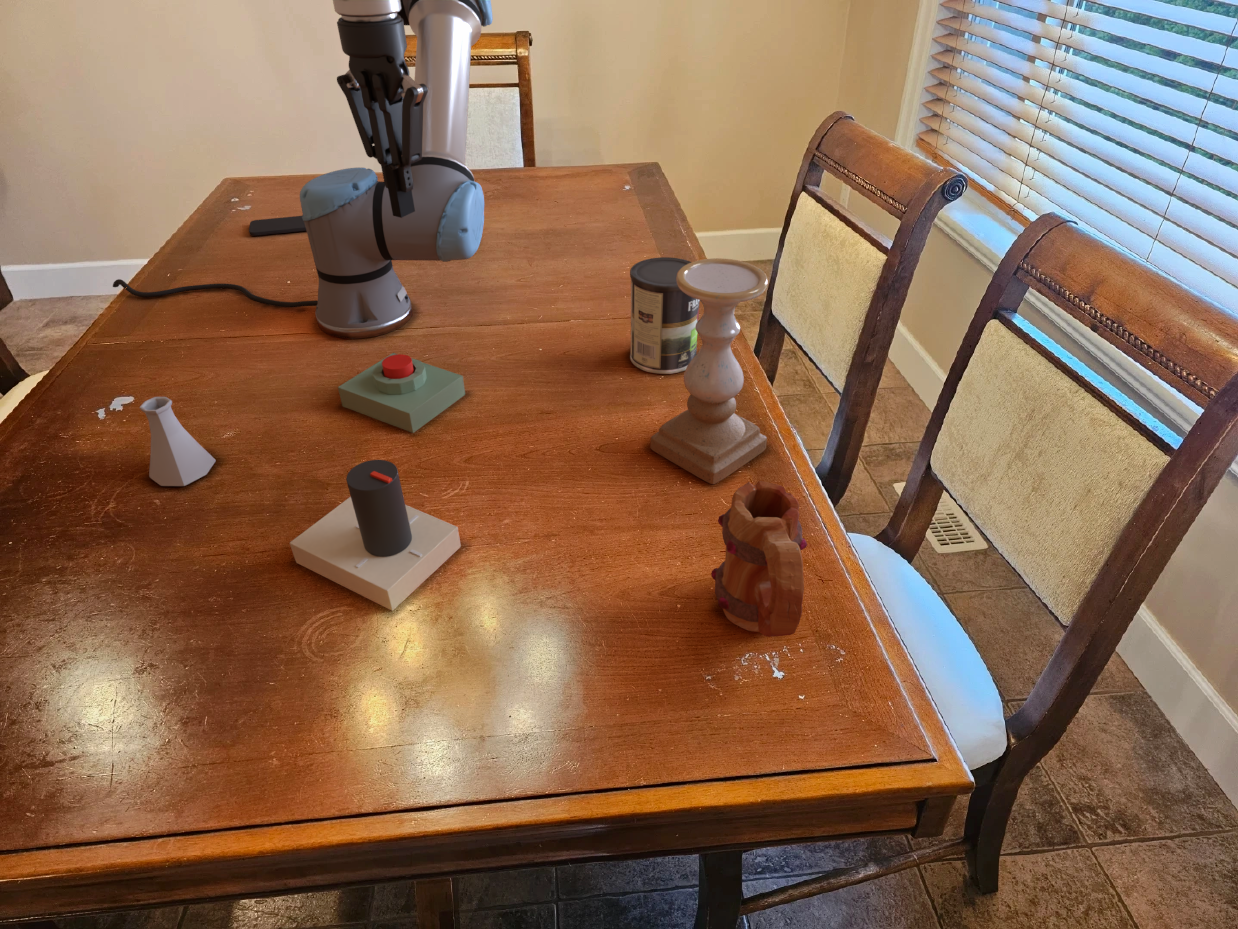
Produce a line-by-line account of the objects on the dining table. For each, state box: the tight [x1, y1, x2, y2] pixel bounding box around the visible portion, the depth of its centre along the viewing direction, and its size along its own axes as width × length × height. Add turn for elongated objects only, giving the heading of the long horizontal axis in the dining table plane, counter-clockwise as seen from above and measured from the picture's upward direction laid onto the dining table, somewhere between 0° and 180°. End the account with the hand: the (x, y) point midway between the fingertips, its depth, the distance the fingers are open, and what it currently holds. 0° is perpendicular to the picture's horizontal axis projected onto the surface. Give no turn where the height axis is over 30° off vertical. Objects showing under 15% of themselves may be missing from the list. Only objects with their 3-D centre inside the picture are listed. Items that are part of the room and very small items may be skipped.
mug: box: [710, 480, 808, 638], centre depth 75 cm, size 15×8×15 cm, turn 5°
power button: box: [382, 353, 414, 379], centre depth 109 cm, size 4×4×2 cm
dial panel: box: [289, 496, 462, 612], centre depth 87 cm, size 14×11×3 cm
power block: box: [337, 352, 466, 434], centre depth 111 cm, size 13×11×5 cm
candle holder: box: [649, 257, 769, 485], centre depth 96 cm, size 11×11×24 cm
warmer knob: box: [345, 459, 412, 557], centre depth 82 cm, size 5×5×9 cm
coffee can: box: [629, 256, 701, 375], centre depth 117 cm, size 10×10×14 cm
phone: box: [248, 215, 307, 237], centre depth 164 cm, size 7×1×15 cm
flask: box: [139, 396, 217, 487], centre depth 97 cm, size 7×7×10 cm
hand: (404, 213), depth 107 cm, fingers closed
